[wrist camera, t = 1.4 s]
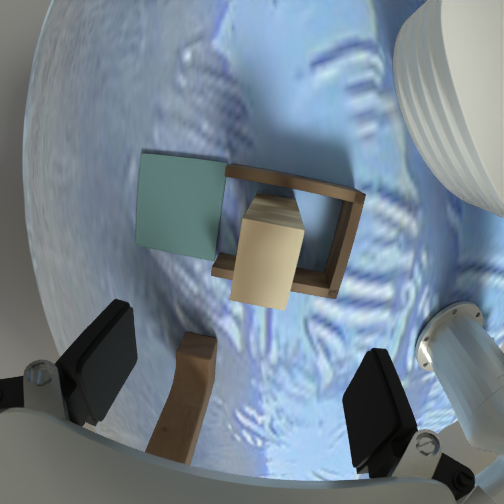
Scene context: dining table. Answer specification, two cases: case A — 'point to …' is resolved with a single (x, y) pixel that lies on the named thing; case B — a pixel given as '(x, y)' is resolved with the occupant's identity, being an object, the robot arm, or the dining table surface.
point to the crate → (342, 241)
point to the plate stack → (456, 95)
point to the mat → (180, 204)
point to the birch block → (267, 251)
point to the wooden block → (186, 400)
